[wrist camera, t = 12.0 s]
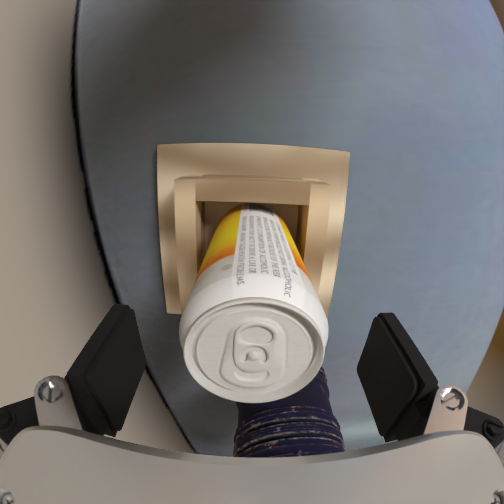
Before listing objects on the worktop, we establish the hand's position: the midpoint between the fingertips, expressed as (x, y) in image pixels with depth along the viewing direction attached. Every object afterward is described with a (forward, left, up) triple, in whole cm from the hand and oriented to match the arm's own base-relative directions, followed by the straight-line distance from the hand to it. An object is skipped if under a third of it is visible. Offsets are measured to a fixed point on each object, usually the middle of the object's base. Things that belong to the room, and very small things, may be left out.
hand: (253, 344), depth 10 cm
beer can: (0, 0, -15) cm, 15 cm away
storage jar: (+17, +4, -16) cm, 23 cm away
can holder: (+1, 0, -16) cm, 16 cm away
